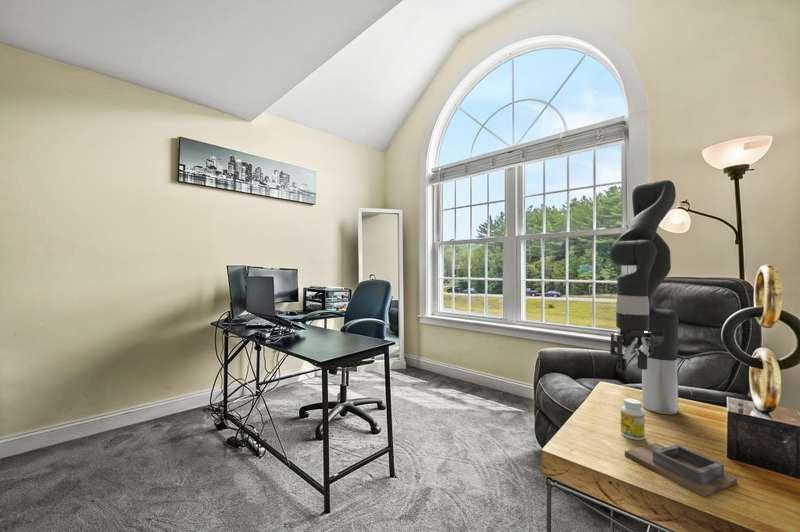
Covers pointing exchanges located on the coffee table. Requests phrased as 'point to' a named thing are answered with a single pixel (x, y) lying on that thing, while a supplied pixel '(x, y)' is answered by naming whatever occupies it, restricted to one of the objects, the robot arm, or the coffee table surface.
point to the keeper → (684, 467)
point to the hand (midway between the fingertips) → (632, 370)
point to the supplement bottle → (632, 419)
